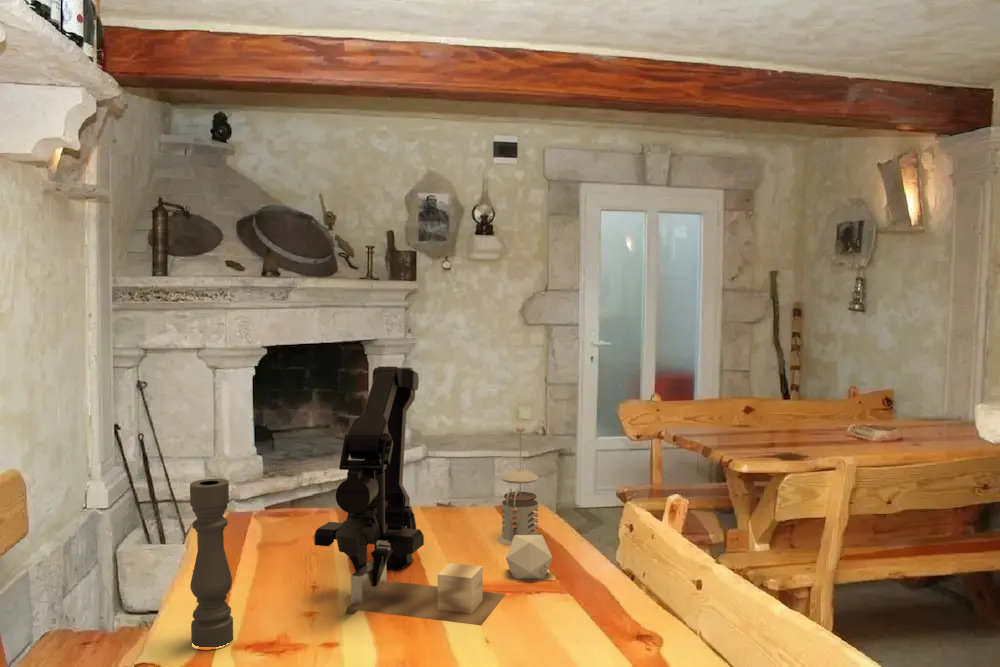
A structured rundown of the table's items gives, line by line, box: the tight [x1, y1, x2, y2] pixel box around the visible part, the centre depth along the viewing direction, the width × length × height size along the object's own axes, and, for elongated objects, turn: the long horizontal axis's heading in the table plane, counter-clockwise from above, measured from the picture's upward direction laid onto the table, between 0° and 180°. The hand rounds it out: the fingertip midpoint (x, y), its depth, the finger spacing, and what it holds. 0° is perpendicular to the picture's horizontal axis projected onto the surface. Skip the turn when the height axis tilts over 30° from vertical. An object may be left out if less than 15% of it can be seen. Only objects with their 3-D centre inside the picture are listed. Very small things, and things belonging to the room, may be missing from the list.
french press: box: [497, 425, 539, 547], centre depth 180 cm, size 10×12×25 cm
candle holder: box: [189, 478, 234, 647], centre depth 129 cm, size 6×6×25 cm
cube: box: [437, 562, 484, 614], centre depth 142 cm, size 6×6×6 cm
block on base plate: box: [345, 559, 507, 626], centre depth 143 cm, size 24×14×6 cm, turn 73°
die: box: [505, 534, 553, 580], centre depth 157 cm, size 8×9×10 cm
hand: (369, 585), depth 147 cm, fingers closed on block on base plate, 2 cm apart
